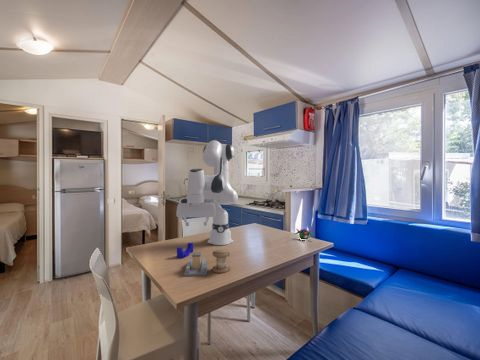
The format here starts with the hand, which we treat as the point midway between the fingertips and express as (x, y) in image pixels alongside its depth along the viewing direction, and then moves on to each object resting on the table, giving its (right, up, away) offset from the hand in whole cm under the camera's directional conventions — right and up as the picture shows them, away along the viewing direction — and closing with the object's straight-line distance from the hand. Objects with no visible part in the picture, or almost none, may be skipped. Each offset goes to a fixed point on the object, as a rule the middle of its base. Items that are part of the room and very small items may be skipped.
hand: (196, 225), depth 119 cm
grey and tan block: (0, -22, 0) cm, 22 cm away
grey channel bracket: (0, -23, 0) cm, 23 cm away
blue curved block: (-11, -23, +22) cm, 34 cm away
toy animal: (+73, -23, +54) cm, 94 cm away
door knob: (+13, -23, 0) cm, 27 cm away
